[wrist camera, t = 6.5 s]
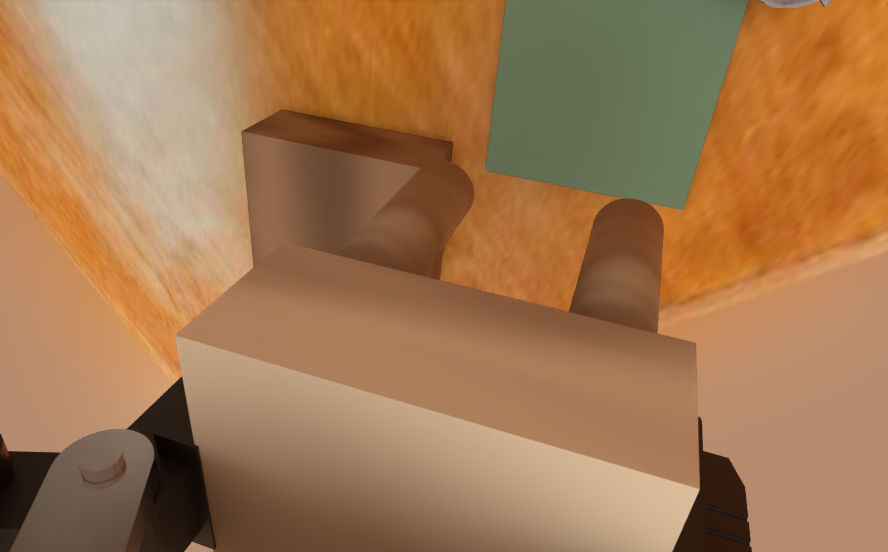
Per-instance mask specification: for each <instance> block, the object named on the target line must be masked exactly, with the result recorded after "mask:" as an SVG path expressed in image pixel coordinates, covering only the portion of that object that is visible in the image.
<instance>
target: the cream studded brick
mask: <svg viewBox="0 0 888 552" xmlns="http://www.w3.org/2000/svg"><path fill="white" fill-rule="evenodd" d="M473 200H474V188H473V185H472V182H471V180H470V178H469V176H468V175H467V174H466V172H465V171H464V170H463V169H461V168H460V167H459V166H457V165H455V164H454V163H451V162H448V161H442V160H438V161H432V162H429V163H427V164H425V165H424V166H422V167H421V168H420V169H419V170H418V171H417V172H416V173H415V174H414V175H413V177H412V178H411V179H410V180H409V181H408V182H407V183H406V184H405V185H404V186H403V187H402V188H401V189H400V190H399V191H398V192H397V193H396V194H395V195H394V196H393V197H392V198H391V199H390V200H389V201H388V202H387V203H386V204H385V205H384V206H383V207H382V208H381V209H380V210H379V212H378V213H377V214H376V215H375V216H374V217H373V218H372V219H371V220H370V221H369V222H368V223H367V224H366V225H365V226H364V227H363V228H362V229H361V230H360V231H359V232H358V233H357V234H356V235H355V236H354V237H353V238H352V239H351V240H350V241H349V242H348V243H347V244H346V245H345V246H344V248H343V249H342V250H341V251H340V252H339V253H338V254H337V255H334V254H330V253H326V252H322V251H318V250H314V249H310V248H306V247H302V246H297V245H293V244H289V243H285V242H283V243H282V244H280V245H279V246H278V247H277V248H276V249H275V250H273V251H272V252H271V253H270V254H269V255H268V256H267V257H265V258H264V259H263V260H262V261H261V262H260V263H258V264H257V265H256V266H255V267H254V268H253V269H251V270H250V271H249V272H248V273H247V274H246V275H244V276H243V277H242V278H241V279H240V280H239V281H237V282H236V283H235V284H234V285H233V286H232V287H231V288H229V289H228V290H227V291H226V292H225V293H224V294H222V295H221V296H220V297H219V298H218V299H217V300H215V301H214V302H213V303H212V304H211V305H210V306H208V307H207V308H206V309H205V310H204V311H203V312H201V313H200V314H199V315H198V316H197V317H196V318H195V319H193V320H192V321H191V322H190V323H189V324H188V325H186V326H185V327H184V328H183V329H182V330H181V331H179V332H178V333H177V334H176V335H175V339H176V344H177V350H178V355H179V361H180V367H181V372H182V378H183V383H184V389H185V395H186V400H187V406H188V411H189V417H190V422H191V428H192V434H193V439H194V445H197V446H199V452H200V457H201V463H202V469H203V475H204V480H205V486H206V492H207V498H208V503H209V509H210V515H211V521H212V526H213V532H214V538H215V543H216V549H215V550H214V549H213V550H214V552H672V551H673V549H674V546H675V544H676V542H677V540H678V537H679V535H680V533H681V531H682V528H683V526H684V524H685V522H686V519H687V517H688V515H689V513H690V510H691V508H692V506H693V504H694V501H695V499H696V497H697V495H698V492H699V490H700V476H699V439H698V403H697V365H696V343H694V342H689V341H685V340H681V339H677V338H673V337H669V336H665V335H661V334H657V331H658V314H659V298H660V281H661V265H662V248H663V232H664V227H663V222H662V219H661V217H660V215H659V213H658V212H657V211H656V210H655V209H654V208H653V207H652V206H650V205H649V204H647V203H646V202H643V201H641V200H637V199H630V198H626V199H619V200H615V201H613V202H611V203H609V204H607V205H606V206H604V207H603V208H602V209H601V210H600V211H599V212H598V214H597V216H596V218H595V220H594V223H593V227H592V231H591V234H590V238H589V242H588V245H587V249H586V252H585V256H584V260H583V263H582V267H581V270H580V274H579V278H578V281H577V285H576V288H575V292H574V296H573V299H572V303H571V306H570V310H569V312H567V311H563V310H559V309H555V308H551V307H547V306H543V305H538V304H534V303H530V302H526V301H522V300H518V299H514V298H510V297H506V296H502V295H498V294H494V293H489V292H485V291H481V290H477V289H473V288H469V287H465V286H461V285H457V284H453V283H449V282H445V281H440V280H436V279H432V278H428V277H424V275H425V273H426V272H427V270H428V269H429V267H430V266H431V265H432V263H433V262H434V260H435V259H436V257H437V256H438V254H439V253H440V251H441V250H442V249H443V247H444V246H445V244H446V243H447V241H448V240H449V238H450V237H451V235H452V234H453V233H454V231H455V230H456V228H457V227H458V225H459V224H460V222H461V221H462V219H463V218H464V217H465V215H466V214H467V212H468V211H469V209H470V208H471V206H472V203H473Z"/></svg>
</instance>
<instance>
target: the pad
mask: <svg viewBox="0 0 888 552" xmlns="http://www.w3.org/2000/svg"><path fill="white" fill-rule="evenodd" d="M748 1H749V0H506V6H505V14H504V22H503V30H502V38H501V46H500V54H499V62H498V70H497V78H496V86H495V95H494V103H493V111H492V119H491V127H490V135H489V143H488V151H487V159H486V167H485V171H490V172H495V173H500V174H505V175H510V176H515V177H520V178H525V179H530V180H535V181H540V182H545V183H550V184H555V185H560V186H565V187H570V188H575V189H580V190H585V191H590V192H595V193H600V194H605V195H610V196H615V197H620V198H625V199H626V198H630V199H637V200H641V201H643V202H646V203H650V204H655V205H660V206H665V207H670V208H675V209H680V210H683V209H684V206H685V203H686V200H687V196H688V193H689V190H690V187H691V184H692V180H693V177H694V174H695V171H696V168H697V164H698V161H699V158H700V155H701V151H702V148H703V145H704V142H705V139H706V135H707V132H708V129H709V126H710V123H711V119H712V116H713V113H714V110H715V107H716V103H717V100H718V97H719V94H720V91H721V87H722V84H723V81H724V78H725V75H726V71H727V68H728V65H729V62H730V59H731V55H732V52H733V49H734V46H735V42H736V39H737V36H738V33H739V30H740V26H741V23H742V20H743V17H744V14H745V10H746V7H747V4H748Z"/></svg>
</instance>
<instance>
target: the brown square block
mask: <svg viewBox="0 0 888 552" xmlns="http://www.w3.org/2000/svg"><path fill="white" fill-rule="evenodd" d="M241 133H242V144H243V155H244V166H245V177H246V189H247V200H248V211H249V222H250V233H251V244H252V255H253V266H254V267H255V266H256V265H257V264H258V263H260V262H261V261H262V260H263V259H264V258H265V257H267V256H268V255H269V254H270V253H271V252H272V251H273V250H275V249H276V248H277V247H278V246H279V245H280V244H282V243H283V242H285V243H289V244H293V245H297V246H302V247H306V248H310V249H314V250H318V251H322V252H326V253H330V254H334V255H337V254H338V253H339V252H340V251H341V250H342V249H343V248H344V246H345V245H346V244H347V243H348V242H349V241H350V240H351V239H352V238H353V237H354V236H355V235H356V234H357V233H358V232H359V231H360V230H361V229H362V228H363V227H364V226H365V225H366V224H367V223H368V222H369V221H370V220H371V219H372V218H373V217H374V216H375V215H376V214H377V213H378V212H379V210H380V209H381V208H382V207H383V206H384V205H385V204H386V203H387V202H388V201H389V200H390V199H391V198H392V197H393V196H394V195H395V194H396V193H397V192H398V191H399V190H400V189H401V188H402V187H403V186H404V185H405V184H406V183H407V182H408V181H409V180H410V179H411V178H412V177H413V175H414V174H415V173H416V172H417V171H418V170H419V169H420V168H421V167H422V166H424V165H425V164H427V163H429V162H432V161H438V160H442V161H448V162H451V153H452V143H451V142H446V141H441V140H436V139H430V138H425V137H420V136H415V135H410V134H404V133H399V132H394V131H389V130H384V129H378V128H373V127H368V126H363V125H358V124H352V123H347V122H342V121H337V120H332V119H326V118H321V117H316V116H311V115H306V114H300V113H295V112H290V111H285V110H281V111H279V112H277V113H275V114H273V115H271V116H270V117H268V118H266V119H264V120H262V121H260V122H258V123H256V124H254V125H253V126H251V127H249V128H247V129H245V130H243V131H241ZM442 250H443V249H442ZM442 250H441V251H440V253H439V254H438V256H437V257H436V259H435V260H434V262H433V263H432V265H431V266H430V267H429V269H428V270H427V272H426V273H425V275H424V277H428V278H432V279H436V280H440V272H441V261H442Z"/></svg>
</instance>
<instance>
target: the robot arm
mask: <svg viewBox="0 0 888 552" xmlns="http://www.w3.org/2000/svg"><path fill="white" fill-rule="evenodd" d="M698 439H699V476H700V490H699V492H698V495H697V497H696V499H695V501H694V504H693V506H692V508H691V510H690V513H689V515H688V517H687V519H686V522H685V524H684V526H683V528H682V531H681V533H680V535H679V537H678V540H677V542H676V544H675V546H674V549H673V551H672V552H752V550H751V547H750V541H751V540H750V531H749V522H747V518H748V511H747V502H746V492H745V486H744V485H743V483H742V481H741V479H740V477H739V476H738V474H737V472H736V470H735V469H734V467H733V465H732V463H731V462H730V460H729V458H726V457H722V456H719V455H716V454H712V453H708V452H705V451H703V439H702V421H701V418H700V417H698ZM191 542H195V543H197V544H200V545H203V546H206V547H208V548H211V549H214V550H215V549H216V543H215V538H214V532H213V526H212V521H211V515H210V509H209V503H208V498H207V492H206V486H205V480H204V475H203V469H202V463H201V457H200V452H199V446H197V445H194V439H193V434H192V428H191V422H190V417H189V411H188V406H187V400H186V395H185V389H184V383H183V378H182V377H181V378H180V379H179V380H178V381H177V382H176V383H175V384H173V385H172V386H171V387H170V388H169V389H168V390H167V391H166V392H165V393H164V394H163V395H162V396H161V397H160V398H159V399H158V400H157V401H156V402H155V403H154V404H153V405H152V406H150V407H149V409H147V410H146V411H145V412H144V413H143V414H142V415H141V416H140V417H139V418H138V419H137V420H136V421H135V422H134V423H133V424H132V425H131V426H130V427H128V428H127V429H111V430H105V431H100V432H96V433H93V434H90V435H88V436H86V437H83V438H81V439H79V440H77V441H76V442H74V443H72V444H71V445H70V446H68V447H67V448H66V449H65V450H63V451H62V452H61V453H53V452H50V453H49V452H17V451H14V452H13V451H7V448H6V446H5V443H4V440H3V438H2V436H1V434H0V552H184V551H185V550H186V549H187V547H188V546H189V545H190V543H191Z"/></svg>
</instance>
